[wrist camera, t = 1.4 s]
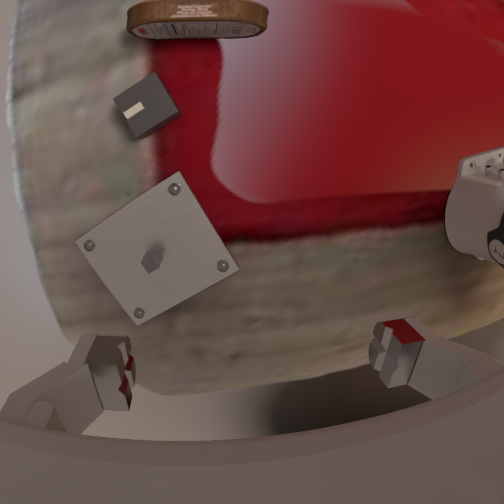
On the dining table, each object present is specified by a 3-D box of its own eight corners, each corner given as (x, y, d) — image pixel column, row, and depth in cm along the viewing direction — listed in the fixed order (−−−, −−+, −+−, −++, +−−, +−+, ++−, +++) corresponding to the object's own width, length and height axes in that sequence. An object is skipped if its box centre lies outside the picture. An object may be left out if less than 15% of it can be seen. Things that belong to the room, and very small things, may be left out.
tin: (262, 22, 31) (275, -4, 23) (261, 45, 32) (275, 22, 24) (136, 24, 29) (119, -2, 21) (134, 46, 30) (115, 25, 22)
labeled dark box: (162, 80, 32) (153, 70, 27) (182, 115, 34) (177, 110, 29) (125, 103, 32) (111, 98, 27) (145, 137, 34) (134, 137, 29)
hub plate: (180, 170, 36) (176, 174, 32) (238, 265, 41) (241, 279, 37) (78, 238, 37) (65, 249, 33) (138, 321, 42) (133, 338, 38)
